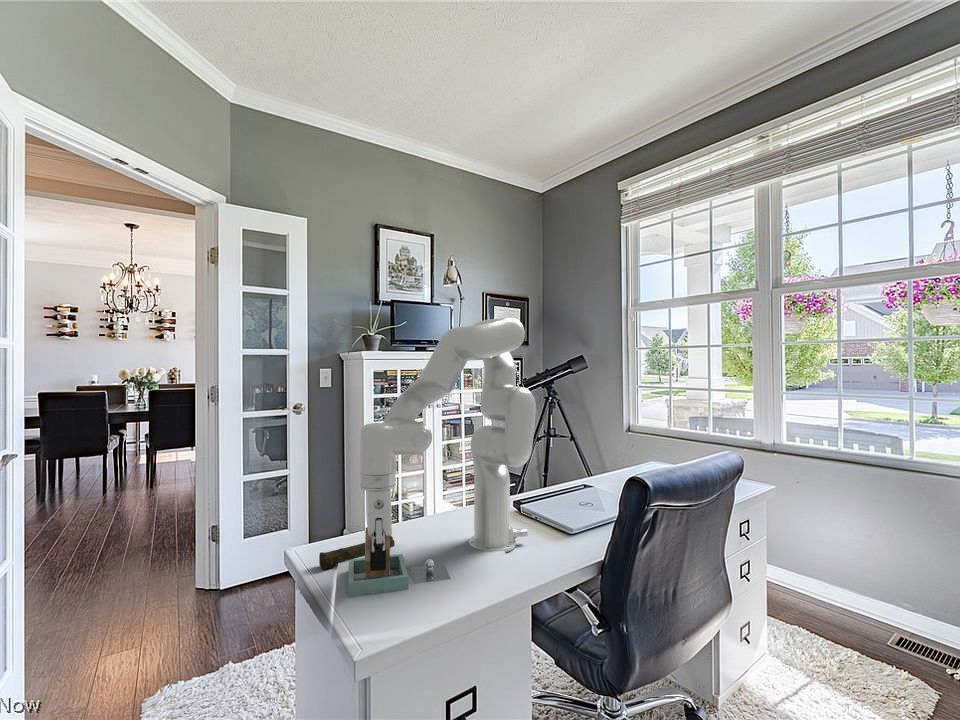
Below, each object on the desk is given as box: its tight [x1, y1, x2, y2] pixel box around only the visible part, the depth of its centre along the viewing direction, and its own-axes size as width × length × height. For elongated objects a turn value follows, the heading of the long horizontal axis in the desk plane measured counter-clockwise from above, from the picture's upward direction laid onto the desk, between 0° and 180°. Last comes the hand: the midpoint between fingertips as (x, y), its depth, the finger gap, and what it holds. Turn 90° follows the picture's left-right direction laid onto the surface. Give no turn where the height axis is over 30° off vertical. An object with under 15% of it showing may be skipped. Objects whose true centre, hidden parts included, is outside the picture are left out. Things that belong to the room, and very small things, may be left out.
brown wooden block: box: [364, 526, 391, 580], centre depth 98 cm, size 5×5×9 cm
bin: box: [347, 553, 409, 598], centre depth 98 cm, size 12×12×4 cm
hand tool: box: [318, 535, 396, 571], centre depth 110 cm, size 19×4×5 cm, turn 125°
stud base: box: [409, 558, 451, 585], centre depth 101 cm, size 8×8×4 cm
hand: (377, 563), depth 98 cm, fingers closed on brown wooden block, 5 cm apart
